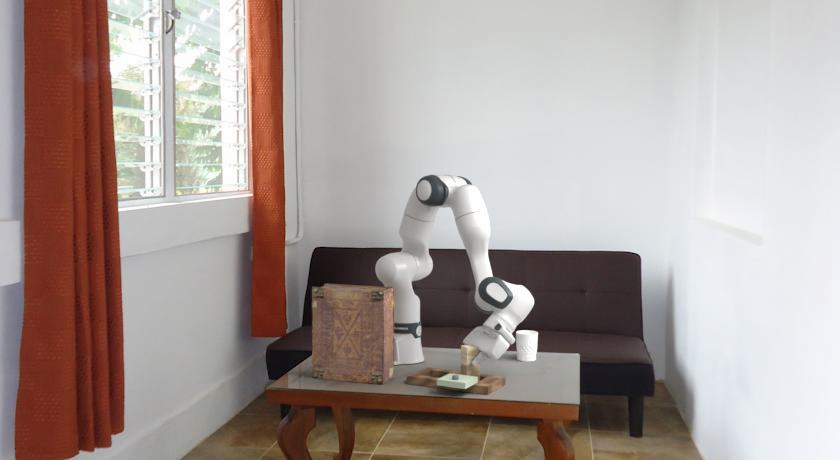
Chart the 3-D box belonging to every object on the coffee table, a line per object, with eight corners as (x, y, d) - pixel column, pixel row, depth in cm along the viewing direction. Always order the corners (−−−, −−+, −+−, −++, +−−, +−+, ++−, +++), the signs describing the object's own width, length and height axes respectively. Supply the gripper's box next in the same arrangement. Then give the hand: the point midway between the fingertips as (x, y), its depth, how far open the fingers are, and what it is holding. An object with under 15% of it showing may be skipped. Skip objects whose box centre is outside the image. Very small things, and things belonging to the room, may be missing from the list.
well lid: (436, 385, 259) (436, 376, 259) (449, 378, 267) (450, 370, 267) (465, 389, 255) (465, 379, 254) (477, 382, 262) (477, 373, 262)
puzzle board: (406, 383, 272) (406, 375, 272) (427, 374, 284) (427, 367, 284) (487, 394, 259) (487, 386, 259) (505, 384, 271) (505, 376, 271)
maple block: (466, 383, 266) (467, 348, 266) (460, 379, 270) (461, 345, 270) (479, 381, 268) (480, 347, 267) (473, 378, 272) (473, 344, 271)
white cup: (532, 363, 302) (532, 335, 301) (511, 360, 306) (512, 332, 305) (541, 359, 308) (541, 331, 308) (521, 356, 312) (521, 329, 312)
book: (311, 378, 279) (311, 286, 277) (324, 371, 288) (323, 283, 286) (383, 384, 271) (383, 290, 268) (394, 378, 279) (394, 287, 277)
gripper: (476, 317, 280) (448, 349, 277) (505, 328, 261) (476, 362, 258) (488, 330, 282) (461, 361, 279) (518, 342, 263) (489, 376, 260)
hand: (468, 362), depth 269 cm, fingers closed on maple block, 4 cm apart
